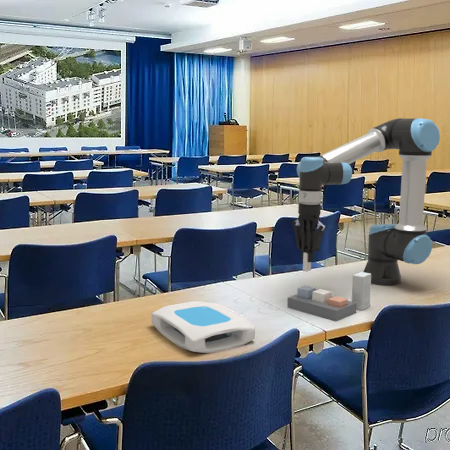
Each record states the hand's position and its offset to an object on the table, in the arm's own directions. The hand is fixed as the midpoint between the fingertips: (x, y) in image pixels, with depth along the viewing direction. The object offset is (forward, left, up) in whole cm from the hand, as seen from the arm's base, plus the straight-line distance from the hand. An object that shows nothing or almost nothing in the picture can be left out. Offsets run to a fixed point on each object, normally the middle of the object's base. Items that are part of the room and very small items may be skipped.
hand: (306, 270), depth 207 cm
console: (0, +6, -13) cm, 14 cm away
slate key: (0, 0, -10) cm, 10 cm away
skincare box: (-12, +14, -13) cm, 23 cm away
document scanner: (+45, -6, -13) cm, 47 cm away
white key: (0, +6, -10) cm, 12 cm away
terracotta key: (0, +13, -11) cm, 17 cm away
